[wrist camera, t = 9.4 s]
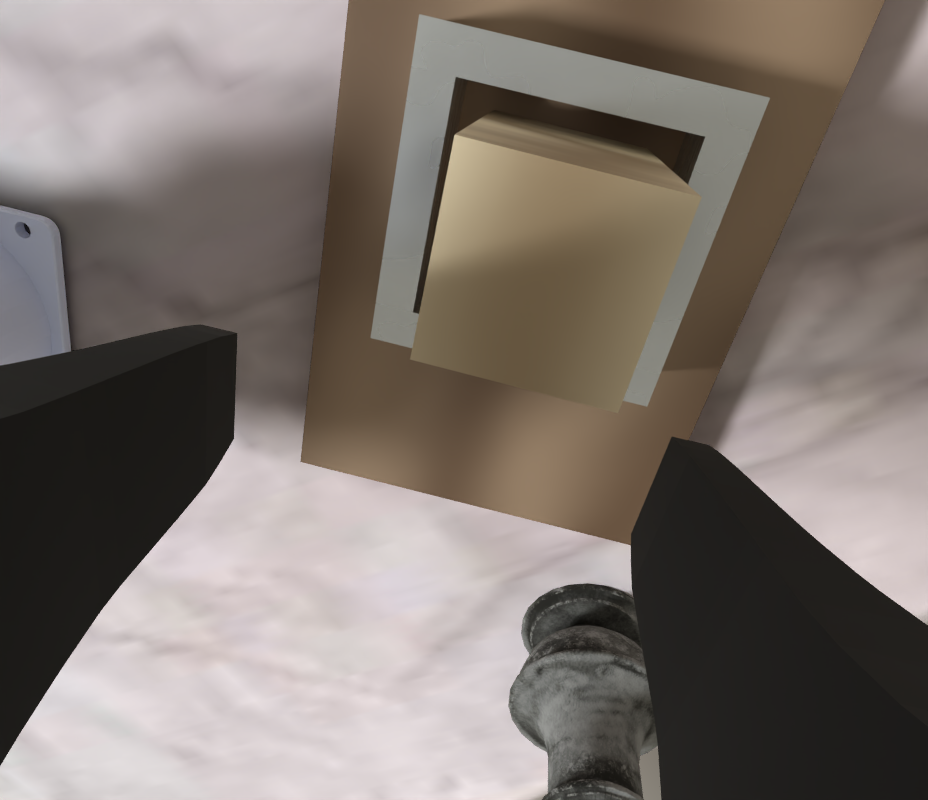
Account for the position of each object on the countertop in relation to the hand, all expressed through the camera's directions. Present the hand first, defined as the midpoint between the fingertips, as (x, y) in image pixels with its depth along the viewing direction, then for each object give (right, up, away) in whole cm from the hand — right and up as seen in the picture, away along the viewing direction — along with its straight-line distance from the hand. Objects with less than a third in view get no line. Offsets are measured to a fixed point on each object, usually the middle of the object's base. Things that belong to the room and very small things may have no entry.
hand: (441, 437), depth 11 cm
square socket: (+3, +6, +7) cm, 9 cm away
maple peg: (+3, +6, +7) cm, 9 cm away
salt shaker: (+5, -9, +16) cm, 19 cm away
